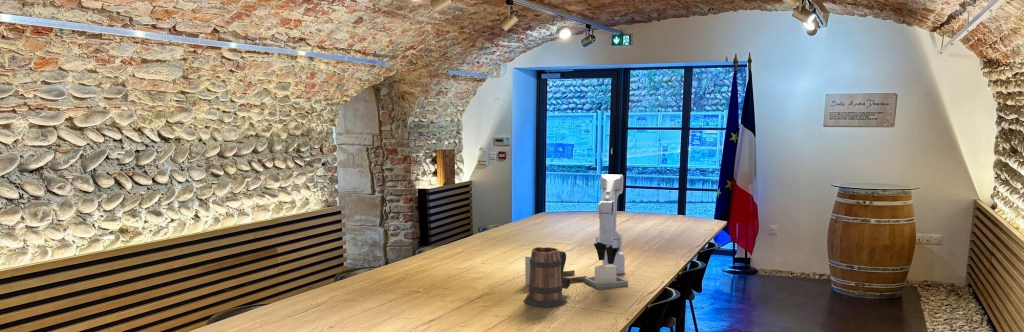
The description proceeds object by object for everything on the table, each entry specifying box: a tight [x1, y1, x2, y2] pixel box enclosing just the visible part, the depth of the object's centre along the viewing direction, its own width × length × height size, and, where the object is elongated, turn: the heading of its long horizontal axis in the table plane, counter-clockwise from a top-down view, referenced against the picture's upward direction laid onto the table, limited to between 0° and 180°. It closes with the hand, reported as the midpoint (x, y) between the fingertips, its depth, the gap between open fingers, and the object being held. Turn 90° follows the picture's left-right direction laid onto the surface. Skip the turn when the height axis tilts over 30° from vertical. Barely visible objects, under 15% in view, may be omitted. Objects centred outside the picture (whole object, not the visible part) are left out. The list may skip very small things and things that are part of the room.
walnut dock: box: [563, 269, 588, 284], centre depth 277 cm, size 10×12×2 cm
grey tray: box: [583, 275, 629, 290], centre depth 269 cm, size 14×12×2 cm
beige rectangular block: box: [594, 264, 617, 284], centre depth 268 cm, size 9×4×7 cm, turn 112°
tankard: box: [522, 246, 572, 309], centre depth 246 cm, size 24×17×20 cm
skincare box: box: [524, 254, 531, 286], centre depth 268 cm, size 6×4×12 cm
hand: (606, 261), depth 268 cm, fingers open, 7 cm apart
